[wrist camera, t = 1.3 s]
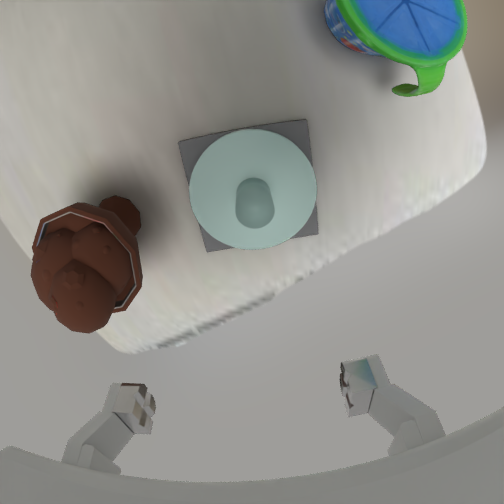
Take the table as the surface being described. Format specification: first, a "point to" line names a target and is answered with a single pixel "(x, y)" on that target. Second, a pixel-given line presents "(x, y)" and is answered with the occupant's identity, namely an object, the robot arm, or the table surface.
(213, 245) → the mat
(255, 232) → the lid
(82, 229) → the ice cream bowl
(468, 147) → the table surface
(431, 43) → the snack cup
